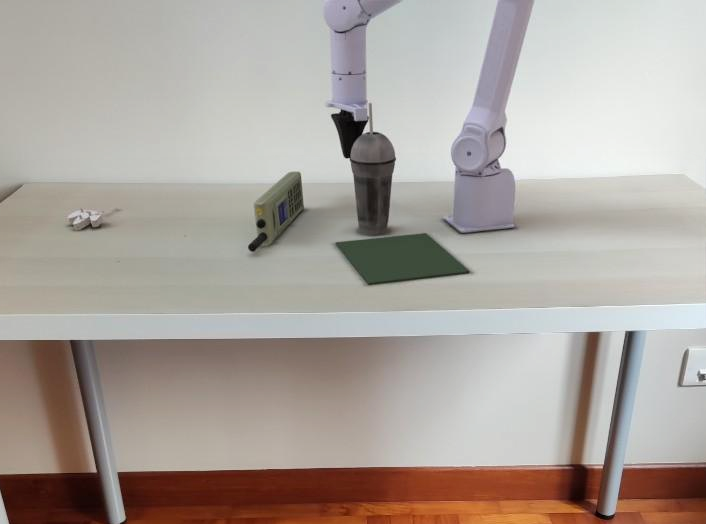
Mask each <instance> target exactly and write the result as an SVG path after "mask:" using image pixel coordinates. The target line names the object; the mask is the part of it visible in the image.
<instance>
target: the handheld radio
mask: <svg viewBox="0 0 706 524" xmlns="http://www.w3.org/2000/svg"><path fill="white" fill-rule="evenodd" d="M303 192H304V191H303V182H302V173H301V172H300V171H289V172H287V173H286V174H285V175H284V176H283V177H281V179H279V180H278V181H276V183H274V184H273V185H272V186H271V187H270V188H269V189H268V190H267V191H266V192H264V193H263V194H261V196H260V197H259V198H257V199H256V200H255V201H254V202H253V210H254V220H255V228H256V237H255V238H254V239H253V240H252V241H251V242H250V243H249V244H248V246H247V249H248V251H249V252H251V253H255V252H256V251H257V250H258V248H260V247H268V246H270V245H271V243H273V242H274V241H275V240H276V239H277V238H278V237H279V236H280V235H281V233H282V232H283V231H284V230H285V229H286V228H287V227H288V226H289V225H290V224H291V223H292V222H293V220H294V219H296V217H297V216H298V215H299V214H300V213H301V212H302V211H303V210H304V208H305V205H304V193H303Z"/></svg>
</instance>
